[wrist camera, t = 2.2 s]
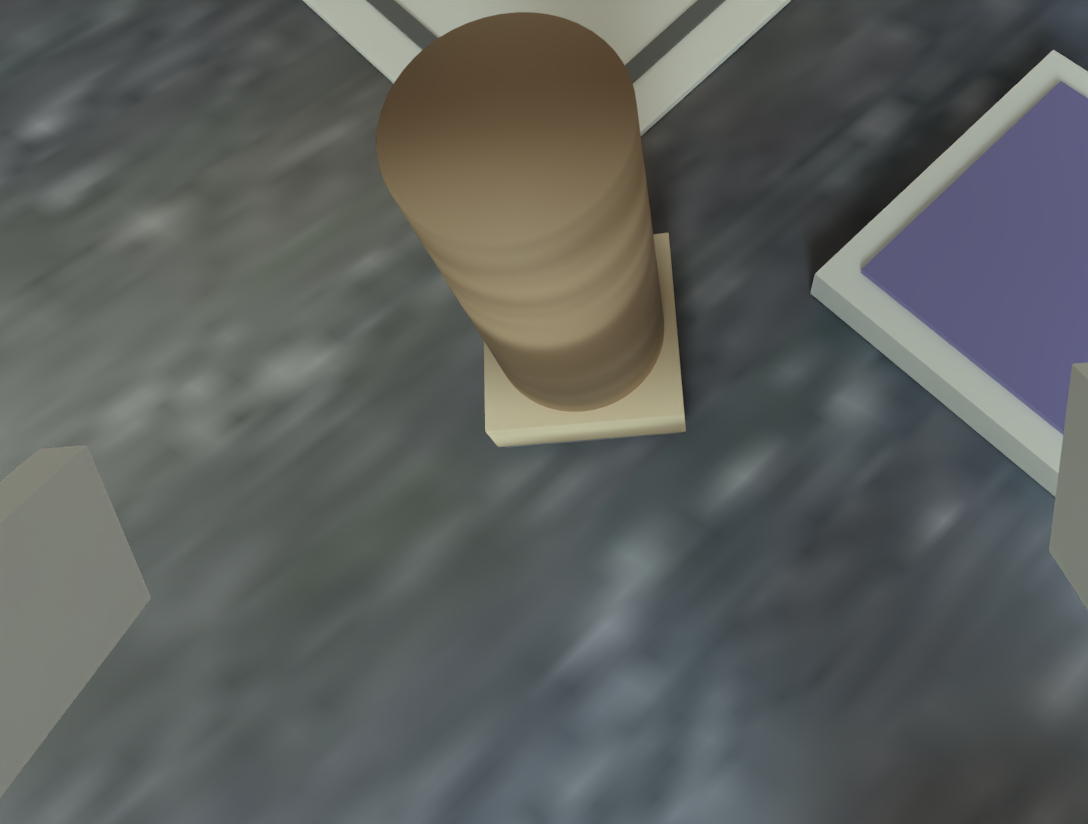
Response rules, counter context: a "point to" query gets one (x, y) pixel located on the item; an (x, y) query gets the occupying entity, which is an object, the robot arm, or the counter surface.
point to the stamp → (541, 225)
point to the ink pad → (987, 269)
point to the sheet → (596, 3)
